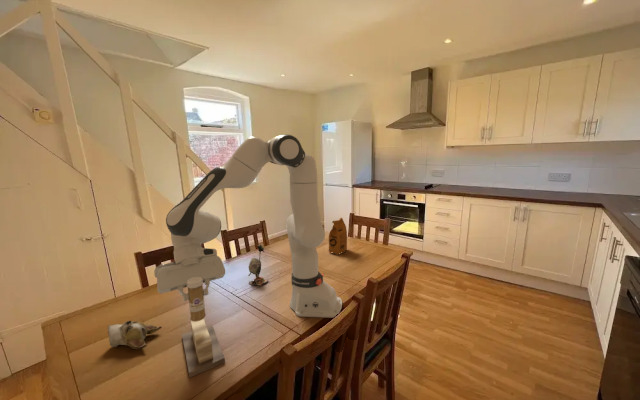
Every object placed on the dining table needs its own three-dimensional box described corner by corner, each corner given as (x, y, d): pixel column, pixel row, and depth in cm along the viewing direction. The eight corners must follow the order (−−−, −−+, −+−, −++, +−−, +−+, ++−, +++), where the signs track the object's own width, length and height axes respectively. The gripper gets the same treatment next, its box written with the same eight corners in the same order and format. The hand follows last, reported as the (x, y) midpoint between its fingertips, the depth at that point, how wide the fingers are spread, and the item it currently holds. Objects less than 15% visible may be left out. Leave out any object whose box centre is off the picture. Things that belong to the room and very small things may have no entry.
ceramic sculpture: (118, 311, 92) (161, 311, 93) (121, 333, 94) (163, 332, 95) (95, 332, 82) (144, 331, 83) (98, 355, 83) (146, 354, 84)
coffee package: (326, 252, 168) (325, 220, 164) (337, 247, 177) (336, 216, 174) (338, 255, 162) (338, 222, 158) (349, 250, 171) (349, 218, 167)
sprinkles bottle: (193, 324, 80) (189, 284, 78) (188, 317, 83) (184, 279, 81) (208, 317, 83) (204, 279, 81) (203, 311, 86) (199, 274, 84)
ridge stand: (182, 338, 91) (179, 319, 89) (212, 327, 96) (210, 309, 95) (189, 377, 74) (186, 355, 73) (225, 361, 79) (223, 340, 78)
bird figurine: (257, 275, 137) (255, 240, 133) (270, 282, 129) (268, 245, 126) (244, 281, 131) (241, 244, 128) (256, 288, 123) (253, 249, 120)
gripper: (152, 261, 80) (157, 304, 73) (220, 248, 91) (229, 284, 85) (154, 270, 84) (158, 311, 78) (218, 256, 95) (227, 291, 89)
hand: (196, 297), depth 81 cm, fingers closed on sprinkles bottle, 4 cm apart
